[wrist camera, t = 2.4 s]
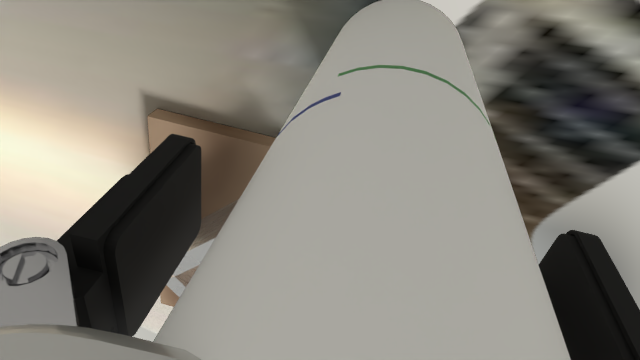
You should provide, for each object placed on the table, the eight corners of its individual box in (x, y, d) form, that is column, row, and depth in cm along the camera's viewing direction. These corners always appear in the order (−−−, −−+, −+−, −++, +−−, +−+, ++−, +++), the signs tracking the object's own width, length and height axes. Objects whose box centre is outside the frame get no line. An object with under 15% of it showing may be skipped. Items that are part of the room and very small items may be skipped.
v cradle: (465, 184, 26) (475, 240, 21) (389, 353, 36) (385, 413, 32) (157, 108, 27) (108, 146, 23) (167, 292, 37) (135, 342, 33)
